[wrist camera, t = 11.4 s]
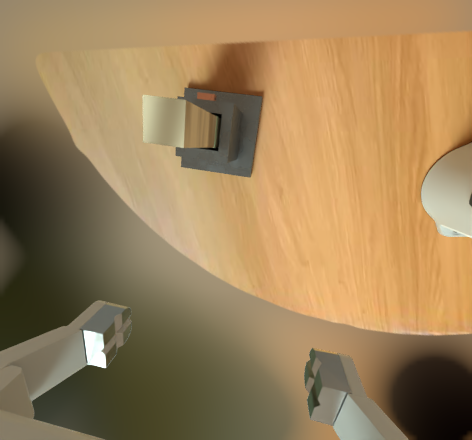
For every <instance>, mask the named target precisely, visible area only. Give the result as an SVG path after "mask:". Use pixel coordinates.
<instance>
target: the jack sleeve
mask: <svg viewBox="0 0 472 440" xmlns="http://www.w3.org/2000/svg"><path fill="white" fill-rule="evenodd" d="M178 99H182V100H187V101H189V102H191V103H193V104H194V105H196V106H198V107H200V108H202V109H204V110H205V111H207V112H209V113H211V114H213V115H215V116H218V118H220V119H221V130H220V140H219V147H216V148H213V147H207V148H180V147H176V156H181V157H182V161H181V167H185V168H192V169H198V170H205V171H211V172H218V173H224V174H231V175H238V176H244V177H251V172H252V165H253V159H254V152H255V145H256V139H257V132H258V125H259V119H260V112H261V105H262V99H263V98H262V96H253V95H244V94H236V93H227V92H218V91H210V90H201V89H192V88H185V93H184V97H178Z"/></svg>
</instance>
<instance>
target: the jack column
mask: <svg viewBox="0 0 472 440" xmlns="http://www.w3.org/2000/svg"><path fill="white" fill-rule="evenodd" d="M220 130H221V119H220V118H218V116H215V115H213V114H211V113H209V112H207V111H205V110H204V109H202V108H200V107H198V106H196V105H194V104H193V103H191V102H189V101H187V100H182V99H174V98H166V97H158V96H149V95H143V142H145V143H152V144H159V145H166V146H173V147H180V148H207V147H213V148H216V147H219V140H220Z"/></svg>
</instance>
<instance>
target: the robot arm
mask: <svg viewBox="0 0 472 440" xmlns="http://www.w3.org/2000/svg"><path fill="white" fill-rule="evenodd" d="M421 200H422V204H423V206H424V209H425V210H426V212H427V213H428V214H429V215H430V216H431V217H432V218H433V219H434V221H435V222H436V226H437V230H438V232H439V233H440V234H441V235H444V236H447V237H471V238H472V142H471V143H469V144H467V145H465V146H462V147H460V148H457V149H455V150H453V151H451V152H450V153H448V154H446V155H445V156H444V157H442V158H441V159H440V160H439V161H438V162H437V163H436V164H435V165H434V166H433V167H432V168H431V169H430V171H429V172H428V174H427V176H426V177H425V180H424V182H423V185H422V190H421ZM130 315H131V309H130V308H129V307H125V306H121V305H117V304H113V303H108V302H104V301H100V300H99V301H96V302H94V303H93V304H92V305H91V306H90V307H89V308H88V309H86V310H85V311H84V312H83V313H82V314H81V315H80V316H78V317H77V318H76V319H75V320H74V321H73V322H72V323H70V324H69V325H68V326H67V327H66V326H62V327H60V328H58V329H55V330H52V331H50V332H48V333H45V334H43V335H40V336H38V337H35V338H33V339H30V340H28V341H25V342H23V343H21V344H18V345H15V346H13V347H11V348H8V349H6V350H3V351H1V352H0V440H104V439H101V438H97V437H94V436H90V435H87V434H83V433H79V432H76V431H72V430H69V429H66V428H62V427H59V426H55V425H52V424H48V423H45V422H41V421H37V420H35V419H32V418H33V417H34V409H33V406H32V402H31V401H32V400H34V399H36V398H37V397H38V396H40V395H42V394H43V393H44V392H46V391H48V390H49V389H51V388H52V387H54V386H55V385H57V384H58V383H60V382H61V381H63V380H64V379H66V378H68V377H69V376H70V375H72V374H74V373H75V372H76V371H78V370H80V369H81V368H83V367H84V366H86V365H87V364H91V365H96V366H100V367H104V368H106V367H107V366H108V365H109V363H110V362H111V361H112V359H113V358H114V357H115V355H116V354H117V348H118V347H120V346H122V345H123V344H124V343H125V342H126V340H127V338H128V337H129V334H130V332H131V328H132V322H131V321H130V319H129V317H130ZM309 356H310V360H309V361H308V362H307V363H306V366H305V373H304V380H305V388H306V390H307V391H308V392H309V396H308V399H307V402H308V409H309V415H310V419H311V420H314V421H318V422H321V423H325V424H328V425H331V426H333V428H334V430H335V432H336V433H337V435H338V437H339V438H340V440H408V438H407V437H406V436H405V435H404V434H403V433H402V432H401V431H400V430H399V429H398V428H397V426H396V425H395V424H394V423H393V422H392V421H391V420H390V419H389V418H388V416H386V414H385V413H384V412H383V411H382V410H381V409H380V408H379V407H378V406H377V404H376V403H375V402H374V401H373V400H372V399H370V398H367V396H366V393H365V391H364V388H363V386H362V383H361V380H360V378H359V375H358V373H357V370H356V368H355V365H354V362H353V360H352V358H351V357H350V356H348V355H344V354H339V353H334V352H330V351H324V350H320V349H315V348H312V349H311V351H310V354H309Z"/></svg>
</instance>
